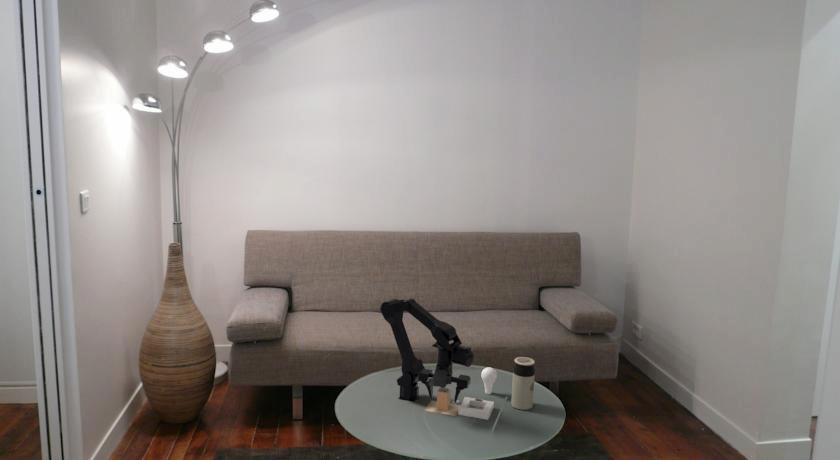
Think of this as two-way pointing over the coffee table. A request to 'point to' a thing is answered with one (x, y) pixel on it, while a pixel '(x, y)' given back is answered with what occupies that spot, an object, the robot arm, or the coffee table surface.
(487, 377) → the lightbulb
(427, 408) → the tray slab
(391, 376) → the coffee table surface
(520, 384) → the travel mug
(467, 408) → the socket block
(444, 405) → the plug
